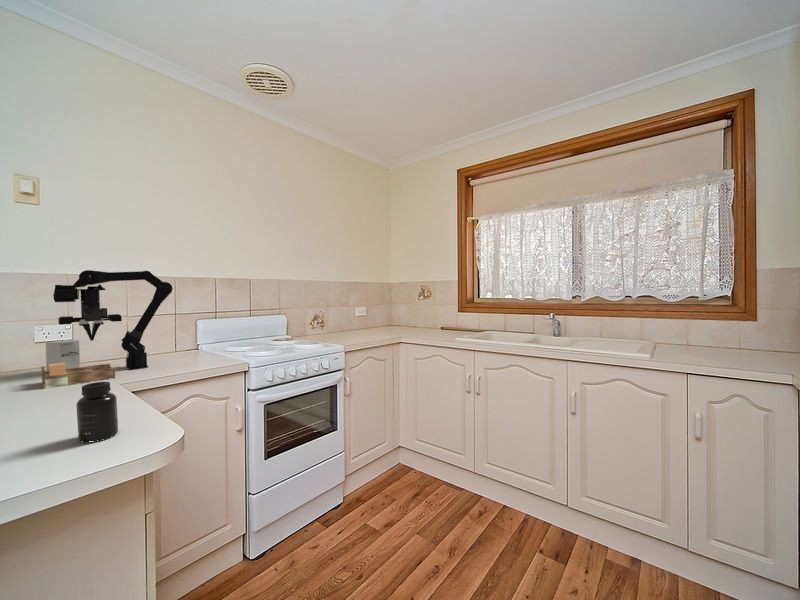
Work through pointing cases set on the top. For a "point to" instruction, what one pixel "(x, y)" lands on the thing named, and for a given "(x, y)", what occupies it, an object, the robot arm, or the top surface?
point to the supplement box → (63, 353)
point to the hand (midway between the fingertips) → (91, 340)
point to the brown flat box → (78, 375)
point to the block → (56, 369)
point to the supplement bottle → (97, 412)
